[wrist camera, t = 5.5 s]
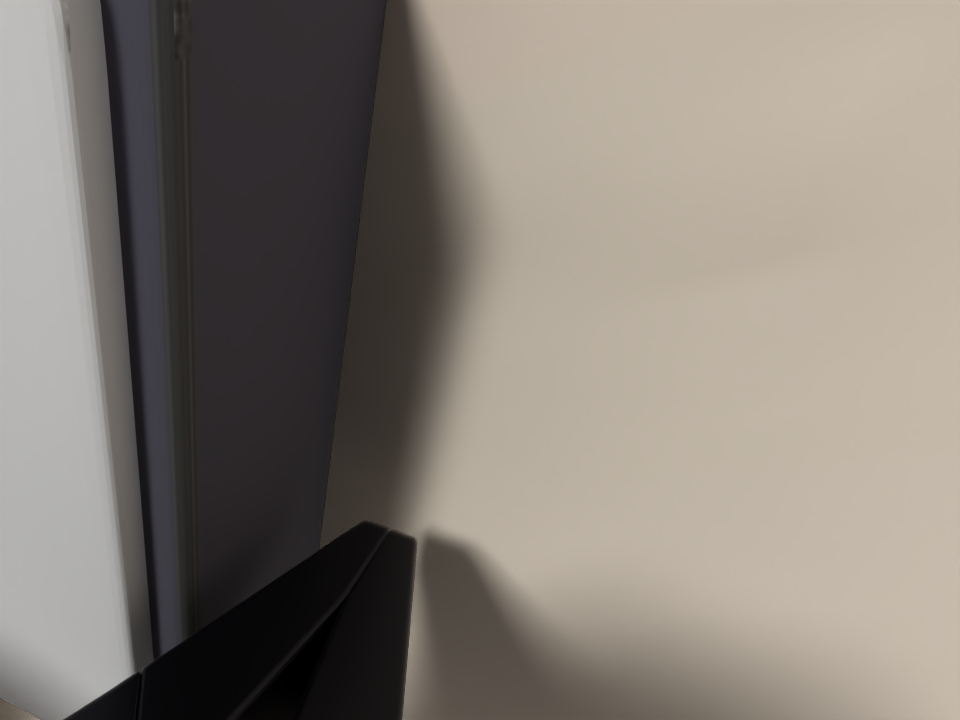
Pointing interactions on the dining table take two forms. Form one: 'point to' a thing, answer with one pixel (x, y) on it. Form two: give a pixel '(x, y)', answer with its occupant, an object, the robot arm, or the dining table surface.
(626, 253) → the dining table surface
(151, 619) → the calculator
